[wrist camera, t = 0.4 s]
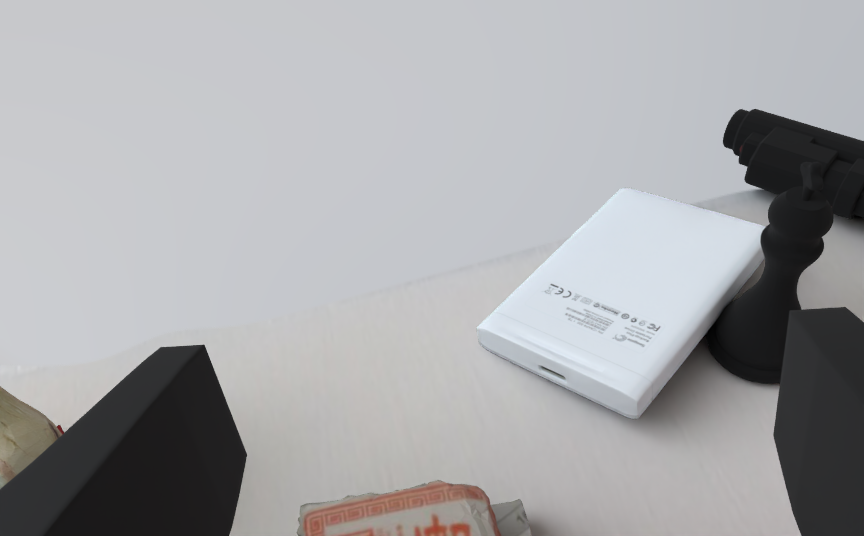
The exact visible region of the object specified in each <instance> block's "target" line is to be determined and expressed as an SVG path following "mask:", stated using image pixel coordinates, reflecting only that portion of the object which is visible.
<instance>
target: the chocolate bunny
mask: <svg viewBox="0 0 864 536" xmlns="http://www.w3.org/2000/svg"><path fill="white" fill-rule="evenodd" d="M63 434H64V432H63V430H62V428H61V426H60V425H58V426H57V427H56V426H55V424H54V423H53V422H51V421H50V420H49V419H48V418H47V417H46V416H45V415H44V414H42V413H41V412H39V411H38V410H36V409H34V408H33V407H31V406H29V405H28V404H26V403H24V402H22V401H20V400H18V399H17V398H16V397H14V396H13V395H11V394H10V393H8V392H7V391H6V390H4V389H3V388H2V387H1V386H0V489H1V488H2V487H3V486H4V485H6V484H7V483H8V482H9V481H10V480H11V479H13V478H14V477H15V476H16V475H17V474H19V473H20V472H21V471H22V470H23V469H25V468H26V467H27V466H28V465H29V464H30V463H32V462H33V461H34V460H35V459H36V458H37V457H38V456H39V455H40V454H42V453H43V452H44V451H45V450H46V449H47V448H48V447H49V446H50V445H52V444H53V443H54V442H55V441H56V440H57V439H58V438H59V437H60V436H61V435H63Z"/></svg>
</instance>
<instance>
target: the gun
mask: <svg viewBox="0 0 864 536" xmlns="http://www.w3.org/2000/svg"><path fill="white" fill-rule="evenodd" d="M723 144H724V146H725V147H726V148H729V149H732V150H733V151H734V154H735V155H737V156H739V163H740V164H742V165H745V166H747V167H748V168H747V171H746V175H745V181H746V183H748V184H750V185H753V186H756V187H759V188H762V189H764V190H767V191H770V192H773V193H776V194H779V195H780V194H781V193H783V192H786V191H788V190H789V189H791V188H793V187H799V186H803V176H802V173H801V171H800V166H801V164H802V163H804V162H811V163H813V162H819V163H821V164H822V179H823V188H822V190H820V192H821V193H822V194H823V195H824V196H825V197H826V200H827V201H828V202H829V204H830V206H831V207H832V211H833V213H834V214H836V215H839V216H842V217H845V218H848V219H852V218H853V217H854V216H855V215H857V216H860V217H863V218H864V141H861V140H857V139H854V138H851V137H847V136H844V135H841V134H837V133H834V132H831V131H828V130H824V129H821V128H818V127H814V126H811V125H808V124H804V123H801V122H798V121H794V120H791V119H787V118H784V117H781V116H777V115H774V114H771V113H767V112H764V111H760V110H757V109H754V110H751V111H750V112H749V111H745V110H742V109H740V110H738V111H737V112H736V113H735V114H734V115H733V116H732V118H731V120H730V121H729V123H728V125H727V128H726V130H725V133H724V138H723Z"/></svg>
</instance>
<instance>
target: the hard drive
mask: <svg viewBox="0 0 864 536" xmlns="http://www.w3.org/2000/svg"><path fill="white" fill-rule="evenodd" d="M764 228H765V226H763V225H760V224H757V223H753V222H749V221H746V220H742V219H739V218H735V217H732V216H728V215H725V214H721V213H718V212H714V211H711V210H707V209H704V208H700V207H696V206H693V205H690V204H685V203H682V202H678V201H675V200H672V199H668V198H665V197H661V196H657V195H654V194H650V193H647V192H643V191H639V190H635V189H632V188H621V189H620V190H619V191H618V192H617V193H616V194H615V195H614V196H613V197H612V198H610V200H609V201H607V202H606V203H605V204H604V205H603V206H602V207H601V208H600V209H599V210H598V211H597V212H596V213H595V214H594V215H593V216H592V217H591V218H590V219H589V220H588V221H587V222H586V223H585V224H584V225H583V226H582V227H580V228H579V229H578V230H577V231H576V232H575V233H574V234H573V235H572V236H571V237H570V238H569V239H568V240H567V241H566V242H565V243H564V244H563V245H562V246H561V247H560V248H559V249H558V250H557V251H556V252H555V253H553V254H552V255H551V256H550V257H549V258H548V259H547V260H546V261H545V262H544V263H543V264H542V265H541V266H540V267H539V268H538V269H537V270H536V271H535V272H534V273H533V274H532V275H531V276H530V277H528V278H527V279H526V280H525V281H524V282H523V283H522V284H521V285H520V286H519V287H518V288H517V289H516V290H515V291H514V292H513V293H512V294H511V295H510V296H509V297H508V298H507V299H506V300H505V301H504V302H503V303H502V304H501V305H500V306H499V307H498V308H496V309H495V310H494V311H493V313H492V314H490V315H489V316H488V317H487V318H486V319H485V320H484V321H483V322H482V323H481V324H480V325H479V326H478V327H477V328H476V329H477V334H478V340H479V343H480V345H481V346H482V347H484V348H485V349H486V350H488V351H490V352H492V353H494V354H496V355H498V356H500V357H502V358H504V359H506V360H508V361H510V362H512V363H514V364H516V365H518V366H520V367H523V368H525V369H527V370H529V371H531V372H533V373H535V374H537V375H539V376H541V377H543V378H545V379H548V380H550V381H552V382H554V383H556V384H558V385H560V386H562V387H564V388H566V389H568V390H570V391H573V392H575V393H577V394H579V395H581V396H583V397H585V398H587V399H589V400H591V401H593V402H596V403H598V404H600V405H602V406H604V407H606V408H608V409H610V410H613V411H615V412H617V413H619V414H621V415H623V416H625V417H628V418H632V419H638V418H639V417H640V416H641V414H642V413H643V412H644V411H645V409H646V408H647V407H648V406H649V405H650V403H651V401H653V400H654V398H655V397H656V396H657V395H658V394H659V392H660V391H661V390H662V388H663V387H664V386H665V384H666V383H667V382H668V381H669V379H670V378H671V377H672V376H673V375H674V373H675V372H676V371H677V370H678V368H679V367H680V366H681V365H682V363H683V362H684V361H685V359H686V358H687V357H688V356H689V354H690V353H691V352H692V351H693V349H694V348H695V347H696V345H697V344H698V343H699V342H700V340H701V339H702V338H703V336H704V335H705V334H706V333H707V331H708V330H709V329H710V327H711V326H712V325H713V324H714V323H715V321H716V320H717V319H718V317H719V316H720V314H721V312H722V311H723V309H724V308H725V307H726V306H727V305H728V304H729V303H730V302H731V300H732V299H733V298H734V297H735V295H736V294H737V293H738V292H739V290H740V289H741V288H742V287H743V285H744V284H745V283H746V281H747V280H748V279H749V278H750V277H751V275H752V274H753V273H754V271H755V270H756V269H757V268H758V266H759V265H760V264H761V262H762V261H763V260H764V259H765V257H764V254H763V251H762V247H761V243H760V238H761V233H762V231H763V230H764Z"/></svg>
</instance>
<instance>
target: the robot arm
mask: <svg viewBox="0 0 864 536" xmlns="http://www.w3.org/2000/svg"><path fill="white" fill-rule="evenodd" d="M774 439H775V444H776V448H777V452H778V456H779V460H780V464H781V468H782V472H783V477H784V480H785V484H786V488H787V492H788V496H789V499H790V503H791V507H792V511H793V514H794V517H795V520H796V522H797V525H798V528H799V530H800V533H801V535H802V536H864V322H862V321H861V320H860V319H859V318H858V317H857V316H855V315H854V314H853V313H852V312H851V311H849V310H848V309H847V308H846V307H841V308H824V309H807V310H790V312H789V320H788V327H787V335H786V343H785V350H784V358H783V366H782V374H781V381H780V389H779V397H778V404H777V412H776V420H775V427H774ZM246 457H247V454H246V451H245V448H244V446H243V443H242V441H241V438H240V435H239V433H238V430H237V428H236V425H235V423H234V420H233V417H232V415H231V412H230V410H229V407H228V405H227V402H226V399H225V397H224V394H223V392H222V389H221V386H220V384H219V381H218V379H217V376H216V374H215V371H214V368H213V366H212V363H211V361H210V358H209V356H208V353H207V350H206V348H205V345H193V346H176V347H160V348H159V349H158V350H157V351H155V352H154V353H153V354H152V355H151V356H149V357H148V358H147V359H146V360H145V361H143V362H142V363H141V364H140V365H139V366H138V367H136V368H135V369H134V370H133V371H132V372H131V373H130V374H129V375H127V376H126V377H125V378H124V379H123V380H122V381H121V382H120V383H119V384H118V385H116V386H115V387H114V388H113V389H112V390H111V391H110V392H109V393H108V394H107V395H105V396H104V397H103V398H102V399H101V400H100V401H99V402H98V403H97V404H96V405H95V406H93V407H92V408H91V409H90V410H89V411H88V412H87V413H86V414H85V415H84V416H83V417H81V418H80V419H79V420H78V421H77V422H76V423H75V424H74V425H73V426H71V427H70V428H69V429H68V430H67V431H66V432H65V433H64V434H63V435H61V436H60V437H59V438H58V439H57V440H56V441H55V442H54V443H53V444H52V445H50V446H49V447H48V448H47V449H46V450H45V451H44V452H43V453H42V454H40V455H39V456H38V457H37V458H36V459H35V460H34V461H33V462H32V463H30V464H29V465H28V466H27V467H26V468H25V469H23V470H22V471H21V472H20V473H19V474H17V475H16V476H15V477H14V478H13V479H11V480H10V481H9V482H8V483H7V484H6V485H4V486H3V487H2V488H1V489H0V536H229V534H230V531H231V528H232V524H233V520H234V516H235V511H236V507H237V502H238V498H239V493H240V488H241V483H242V478H243V473H244V468H245V462H246Z"/></svg>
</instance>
